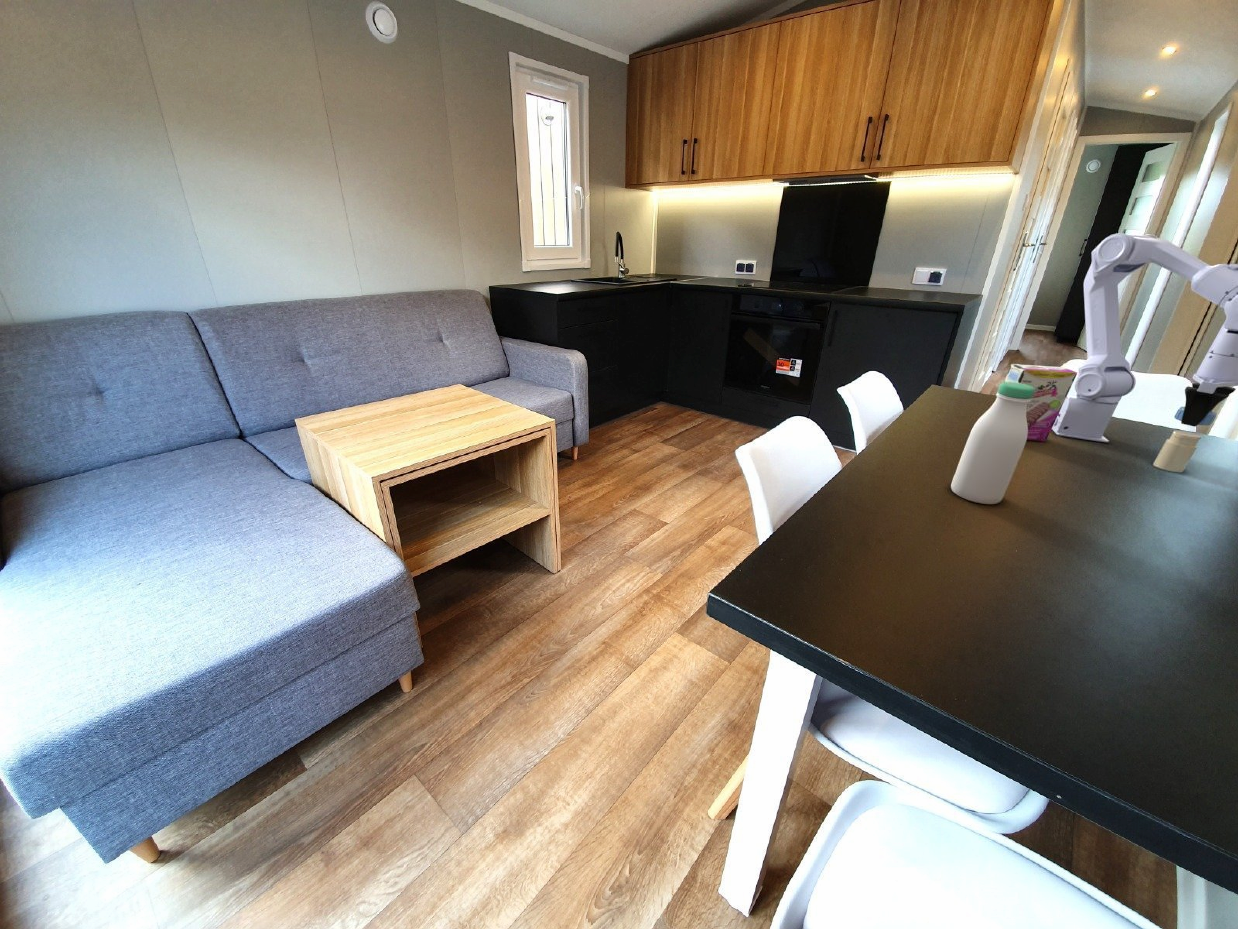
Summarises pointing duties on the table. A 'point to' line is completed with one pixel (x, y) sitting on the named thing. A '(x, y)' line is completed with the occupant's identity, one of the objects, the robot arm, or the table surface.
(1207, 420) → the jam lid
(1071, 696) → the table surface
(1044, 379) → the candy bar box
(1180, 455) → the jam jar
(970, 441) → the milk bottle
